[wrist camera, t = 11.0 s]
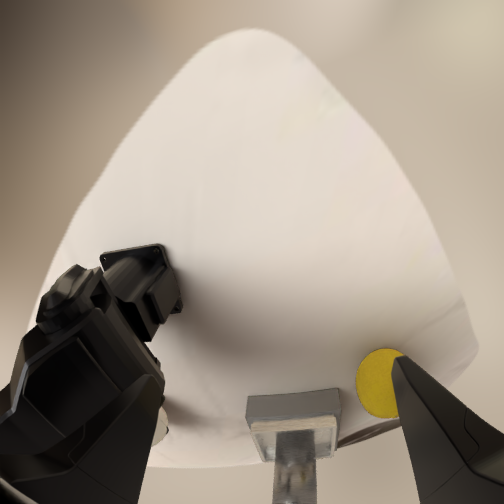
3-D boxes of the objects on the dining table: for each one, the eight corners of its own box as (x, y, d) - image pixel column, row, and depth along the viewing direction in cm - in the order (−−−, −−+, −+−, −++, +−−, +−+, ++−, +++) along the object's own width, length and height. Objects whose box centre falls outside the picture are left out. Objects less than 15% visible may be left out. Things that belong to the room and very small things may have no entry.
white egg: (155, 419, 34) (140, 459, 27) (114, 389, 32) (94, 430, 25) (200, 404, 30) (186, 453, 24) (153, 369, 29) (130, 419, 22)
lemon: (400, 362, 25) (421, 421, 18) (351, 376, 26) (363, 438, 19) (401, 325, 23) (431, 387, 16) (347, 340, 24) (363, 409, 17)
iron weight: (273, 445, 28) (266, 549, 15) (278, 429, 26) (271, 547, 13) (310, 446, 27) (310, 548, 15) (318, 430, 26) (322, 545, 13)
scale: (262, 438, 33) (260, 467, 29) (247, 396, 29) (243, 430, 24) (334, 432, 32) (337, 461, 27) (337, 388, 27) (343, 423, 23)
